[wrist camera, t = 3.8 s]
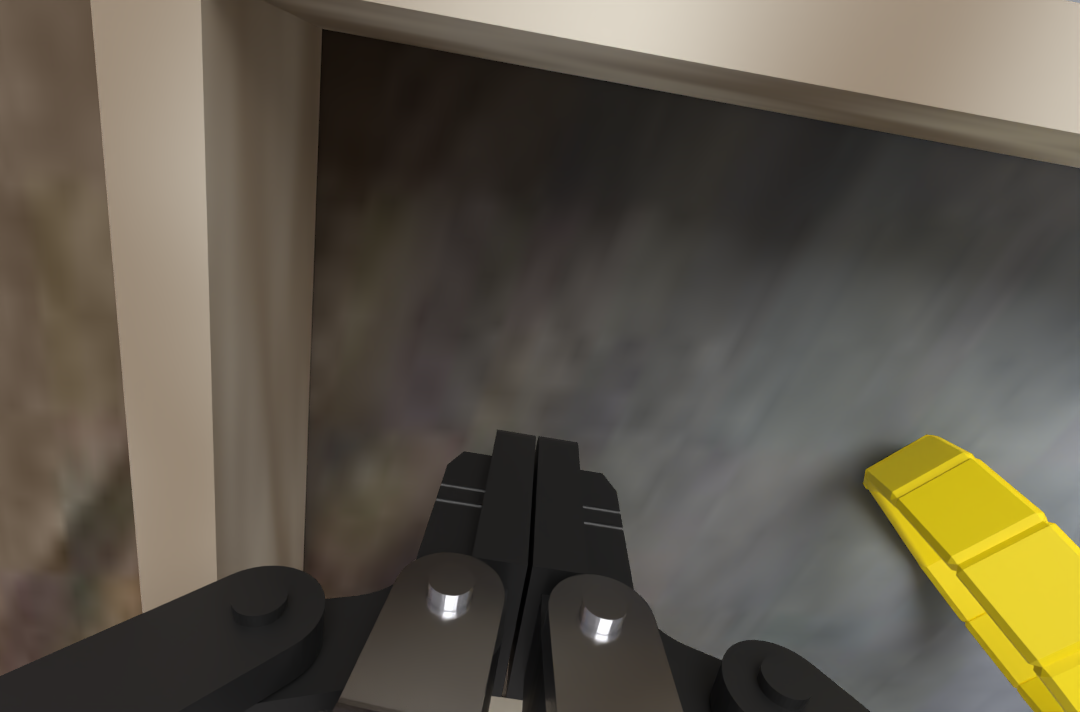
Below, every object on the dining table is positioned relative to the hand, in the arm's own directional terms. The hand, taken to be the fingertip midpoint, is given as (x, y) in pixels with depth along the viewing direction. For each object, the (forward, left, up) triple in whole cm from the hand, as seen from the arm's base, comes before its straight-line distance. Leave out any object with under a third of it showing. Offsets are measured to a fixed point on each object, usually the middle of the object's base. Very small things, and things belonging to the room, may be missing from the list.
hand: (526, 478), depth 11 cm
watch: (-8, 0, -2) cm, 9 cm away
